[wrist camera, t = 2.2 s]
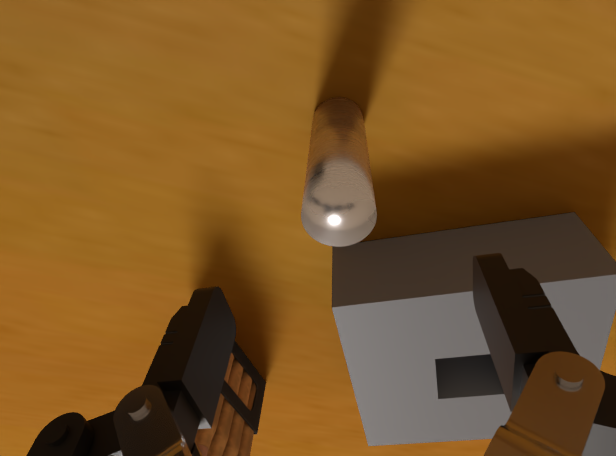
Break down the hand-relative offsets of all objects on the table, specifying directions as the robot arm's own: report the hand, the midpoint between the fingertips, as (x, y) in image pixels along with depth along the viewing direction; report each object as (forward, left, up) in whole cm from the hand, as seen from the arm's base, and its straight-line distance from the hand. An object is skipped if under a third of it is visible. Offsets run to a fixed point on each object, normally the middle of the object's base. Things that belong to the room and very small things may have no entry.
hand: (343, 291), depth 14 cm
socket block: (+6, -17, -14) cm, 23 cm away
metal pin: (0, 0, -14) cm, 14 cm away
